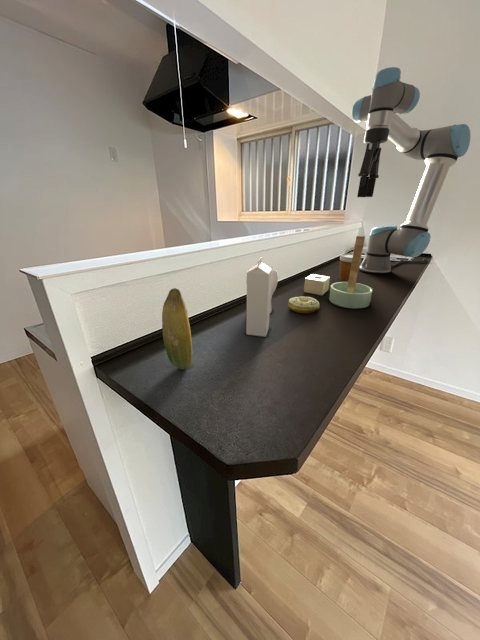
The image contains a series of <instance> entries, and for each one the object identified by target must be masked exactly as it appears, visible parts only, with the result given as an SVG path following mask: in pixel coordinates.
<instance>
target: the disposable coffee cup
mask: <svg viewBox="0 0 480 640" xmlns="http://www.w3.org/2000/svg"><path fill="white" fill-rule="evenodd" d="M352 258H353V253H343V254H341V255H340V257H339V260H340V261H339V282H348V280H349V275H350V269H351V264H352ZM361 261H362V259H361V260H360V262H361Z"/></svg>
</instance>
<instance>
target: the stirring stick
mask: <svg viewBox="0 0 480 640" xmlns="http://www.w3.org/2000/svg"><path fill="white" fill-rule="evenodd" d="M365 240H366V235H356V237H355V241H354V242H355V243H354V248H353V253H352V254H353V258H352V264H351V269H350V275H349V280H348V286H347V291H346V292H347V293H354V291H355V286H356V283H357V280H358V276H359V271H360V270H359V269H360V265H361V261H362V254H363V249H364V244H365ZM360 260H361V261H360Z"/></svg>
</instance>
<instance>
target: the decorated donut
mask: <svg viewBox="0 0 480 640" xmlns="http://www.w3.org/2000/svg"><path fill="white" fill-rule="evenodd" d="M288 307H289V308H290V310H292V311H293V312H295V313H298V314H313V313H314V312H316V311H317V310H319V309H320V302H319V301H318V300H317V299H316V298H314V297H311V296H303V295H301V296H294V297H291V298H290V299H288Z"/></svg>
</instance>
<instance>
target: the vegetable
mask: <svg viewBox="0 0 480 640" xmlns="http://www.w3.org/2000/svg"><path fill="white" fill-rule="evenodd" d="M188 313H189V312H188V309H187V306H186V302H185V301H184V297H183V296H182V293H181V290H179V289H178V288H176V287H173V288H171V289H170V290H169V291H168V294H167V296H166V299H165V301H164V302H163V306H162V311H161V322H162V323H161V324H162V326H161V329H162V340H163V345H164V348H165V351H166V355H167V358H168V360H169V362H170V364H171V365H172V366H173V367H174V368H176V369H179V370H186V369H188V368H190V366H191V364H192V362H193V340H192V332H191V331H192V330H191V325H190V318H189V315H188Z"/></svg>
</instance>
